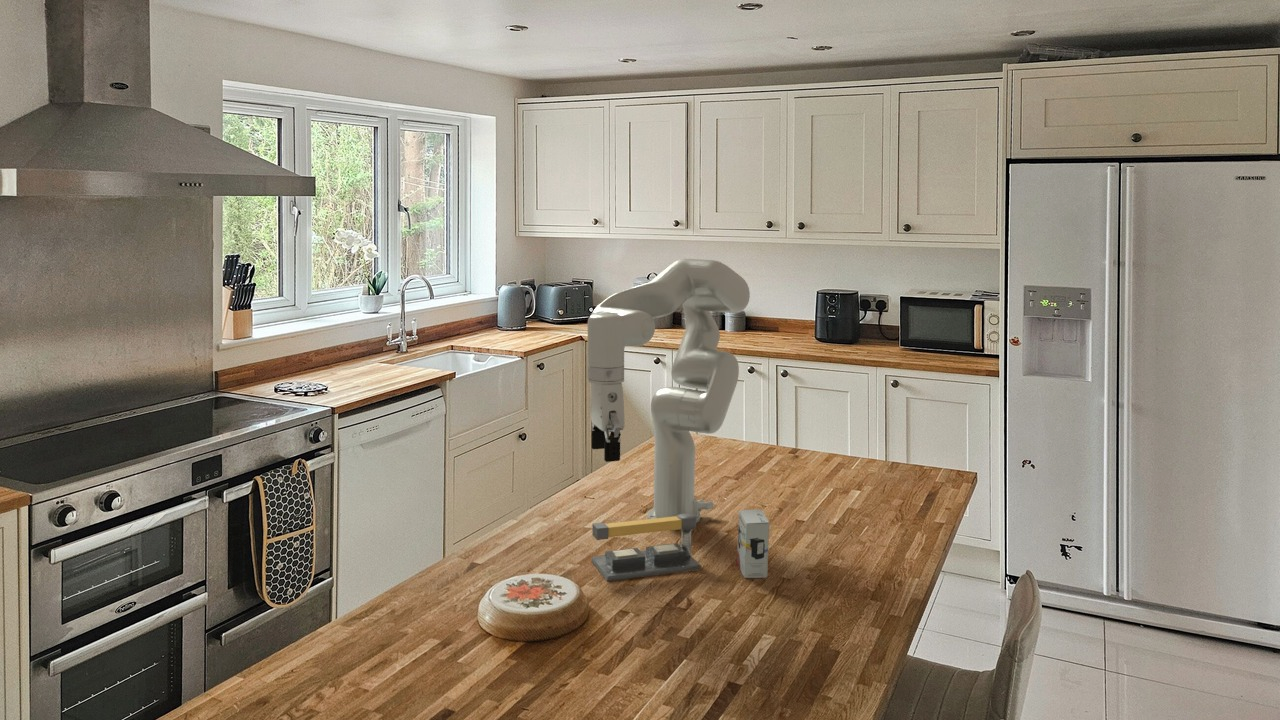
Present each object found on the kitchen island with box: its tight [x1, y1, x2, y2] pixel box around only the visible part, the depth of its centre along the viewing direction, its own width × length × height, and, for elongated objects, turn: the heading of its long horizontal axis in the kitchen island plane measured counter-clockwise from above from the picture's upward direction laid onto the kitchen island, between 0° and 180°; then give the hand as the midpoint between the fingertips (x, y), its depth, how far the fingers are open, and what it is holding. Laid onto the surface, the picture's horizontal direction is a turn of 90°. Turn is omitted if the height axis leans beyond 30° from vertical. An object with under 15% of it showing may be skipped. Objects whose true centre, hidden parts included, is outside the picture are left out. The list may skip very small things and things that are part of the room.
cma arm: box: [592, 514, 697, 541], centre depth 200 cm, size 22×4×2 cm, turn 109°
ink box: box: [736, 508, 770, 579], centre depth 199 cm, size 9×5×12 cm, turn 5°
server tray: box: [591, 529, 701, 582], centre depth 201 cm, size 20×11×7 cm, turn 109°
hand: (605, 454), depth 202 cm, fingers open, 9 cm apart
